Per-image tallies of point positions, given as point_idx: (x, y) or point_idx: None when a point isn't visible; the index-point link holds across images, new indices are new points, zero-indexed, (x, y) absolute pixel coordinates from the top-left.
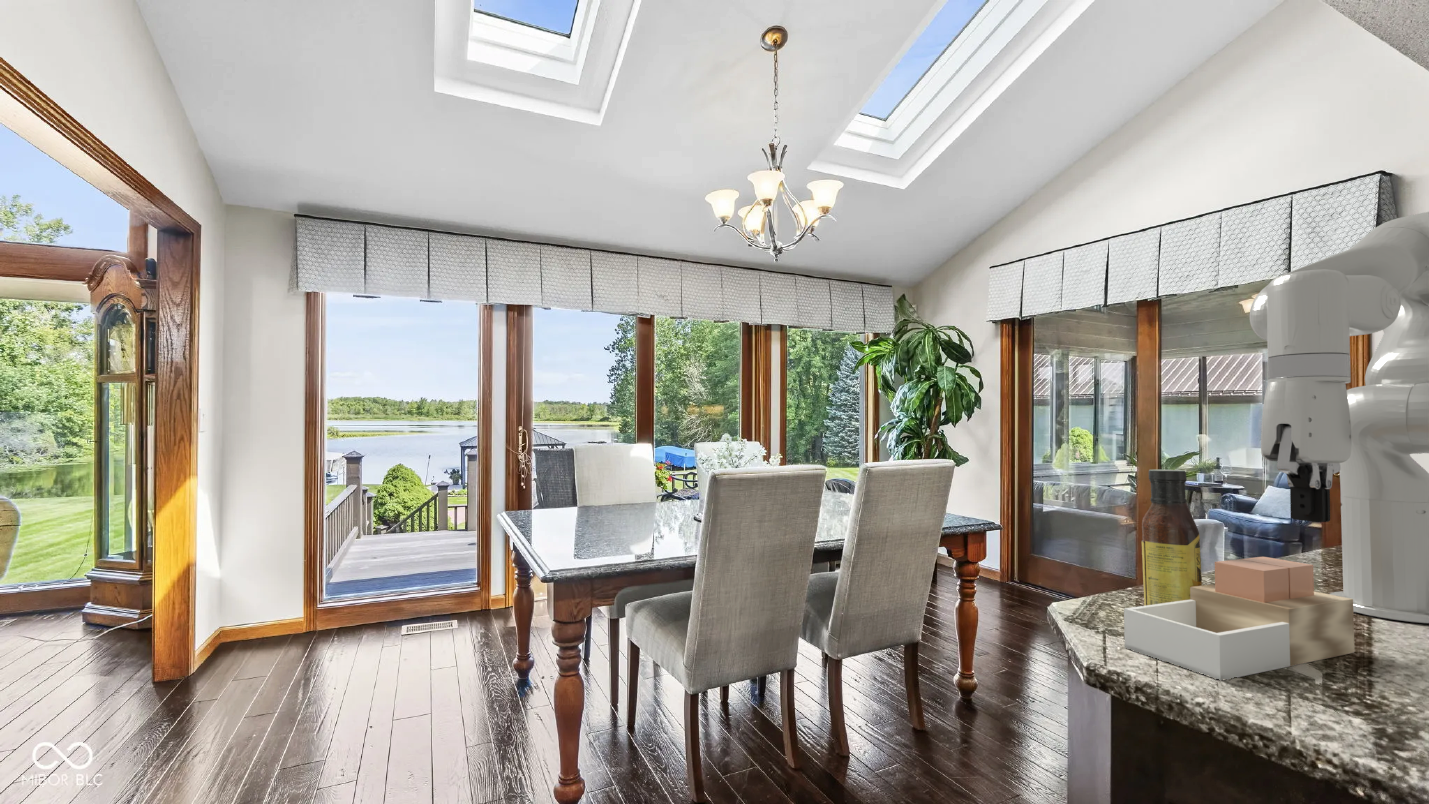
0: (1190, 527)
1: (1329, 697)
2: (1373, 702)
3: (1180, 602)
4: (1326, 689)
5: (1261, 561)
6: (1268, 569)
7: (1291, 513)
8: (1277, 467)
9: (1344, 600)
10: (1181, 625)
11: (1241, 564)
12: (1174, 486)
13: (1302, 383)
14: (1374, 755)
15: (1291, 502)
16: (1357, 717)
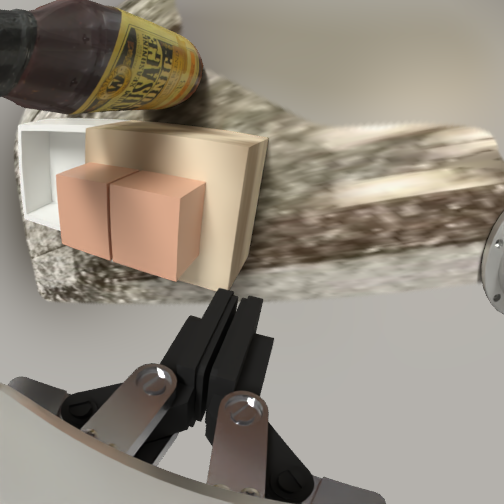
0: (48, 107)
1: (90, 262)
2: (108, 283)
3: (75, 130)
4: (102, 258)
5: (122, 216)
6: (75, 245)
7: (214, 296)
8: (12, 381)
9: (204, 287)
10: (21, 186)
11: (71, 207)
12: None
13: None
14: (46, 288)
15: (202, 321)
16: (76, 279)
